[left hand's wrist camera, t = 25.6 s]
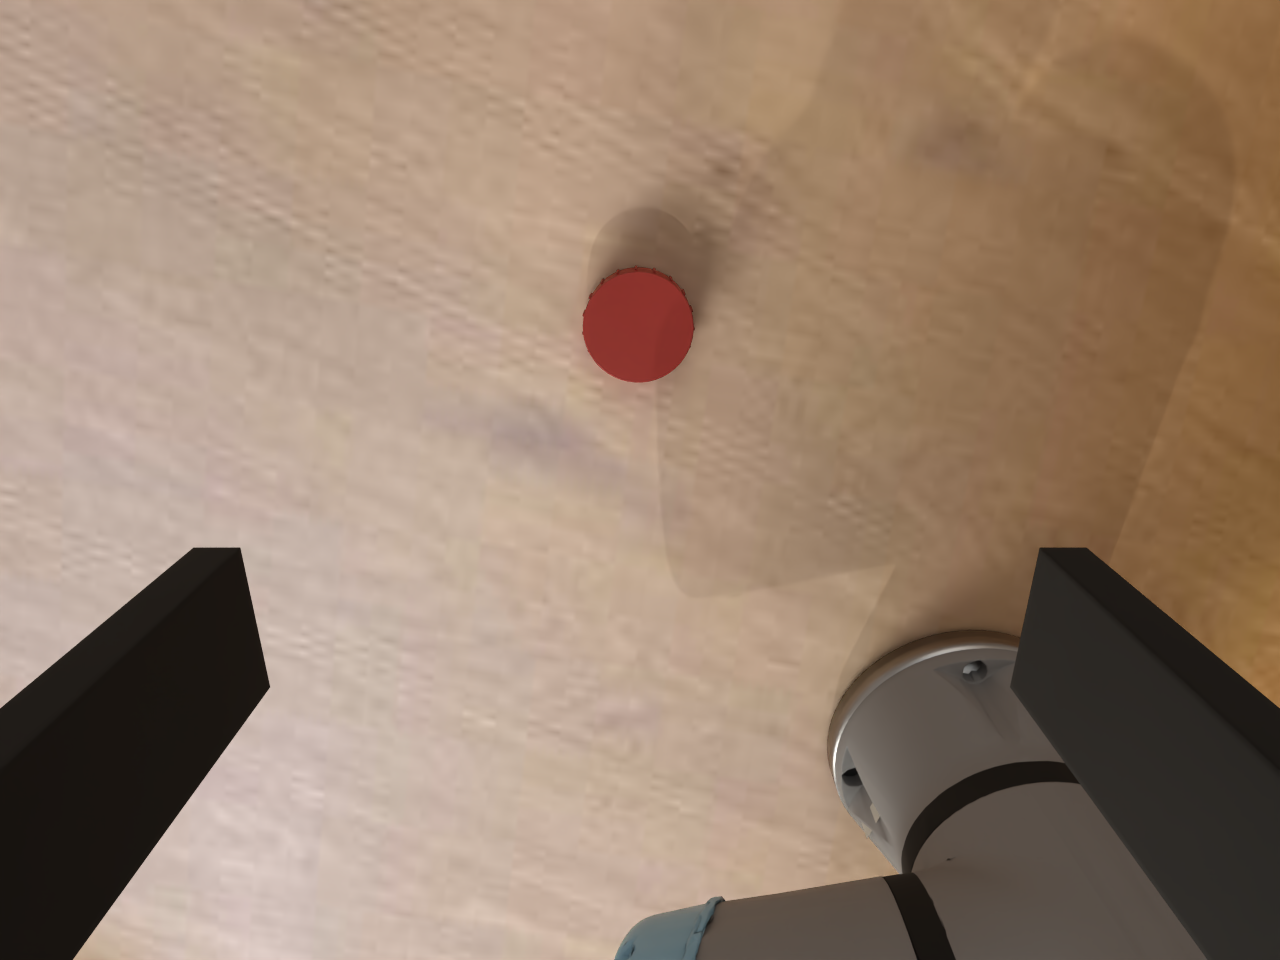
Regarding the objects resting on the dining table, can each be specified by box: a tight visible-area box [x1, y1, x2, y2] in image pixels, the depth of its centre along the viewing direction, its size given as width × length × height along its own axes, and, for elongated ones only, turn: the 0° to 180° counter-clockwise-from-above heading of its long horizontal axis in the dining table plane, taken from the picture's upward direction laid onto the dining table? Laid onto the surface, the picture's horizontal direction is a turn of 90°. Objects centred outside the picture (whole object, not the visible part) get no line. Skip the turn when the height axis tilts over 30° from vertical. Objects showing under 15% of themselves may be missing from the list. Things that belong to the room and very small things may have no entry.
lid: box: [582, 266, 695, 382], centre depth 37 cm, size 5×5×2 cm
